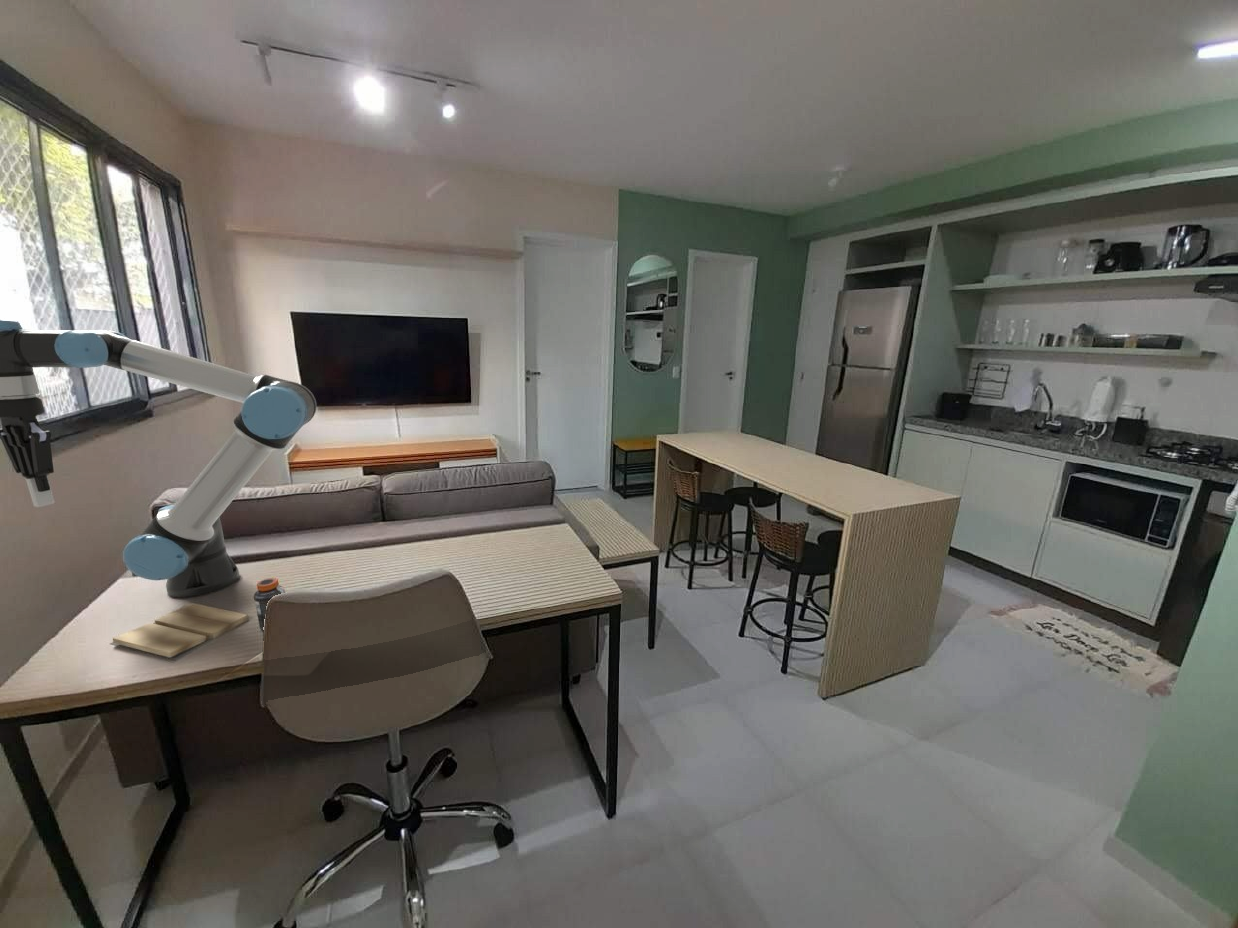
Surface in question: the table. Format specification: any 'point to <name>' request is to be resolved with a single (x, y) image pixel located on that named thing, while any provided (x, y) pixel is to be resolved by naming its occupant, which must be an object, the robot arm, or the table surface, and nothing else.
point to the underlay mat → (181, 652)
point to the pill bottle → (265, 596)
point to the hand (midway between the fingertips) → (44, 504)
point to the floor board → (202, 620)
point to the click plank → (160, 639)
